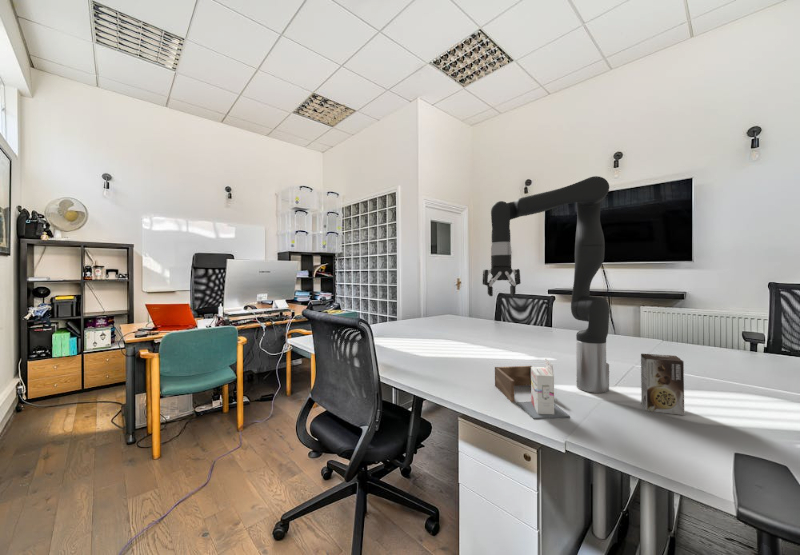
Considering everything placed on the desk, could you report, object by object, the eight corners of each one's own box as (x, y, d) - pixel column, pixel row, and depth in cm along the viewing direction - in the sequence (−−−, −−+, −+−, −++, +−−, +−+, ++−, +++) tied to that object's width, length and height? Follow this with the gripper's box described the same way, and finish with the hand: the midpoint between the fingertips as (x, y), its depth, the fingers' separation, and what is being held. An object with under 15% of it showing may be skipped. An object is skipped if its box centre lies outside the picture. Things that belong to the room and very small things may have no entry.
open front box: (531, 384, 120) (531, 365, 120) (552, 400, 105) (552, 379, 105) (494, 385, 119) (494, 367, 119) (511, 402, 104) (511, 381, 104)
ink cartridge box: (530, 402, 103) (529, 357, 102) (546, 403, 102) (546, 357, 102) (537, 414, 94) (536, 364, 94) (555, 415, 93) (554, 365, 93)
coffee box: (676, 407, 98) (676, 355, 98) (685, 416, 92) (685, 361, 92) (640, 402, 102) (640, 352, 102) (646, 411, 96) (646, 357, 96)
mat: (550, 401, 104) (550, 400, 104) (570, 417, 93) (570, 416, 93) (517, 403, 103) (517, 402, 103) (533, 419, 92) (533, 417, 92)
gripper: (514, 254, 128) (515, 294, 128) (480, 255, 127) (480, 295, 127) (523, 253, 120) (523, 296, 121) (486, 254, 119) (486, 297, 120)
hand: (501, 295), depth 124 cm, fingers open, 8 cm apart
